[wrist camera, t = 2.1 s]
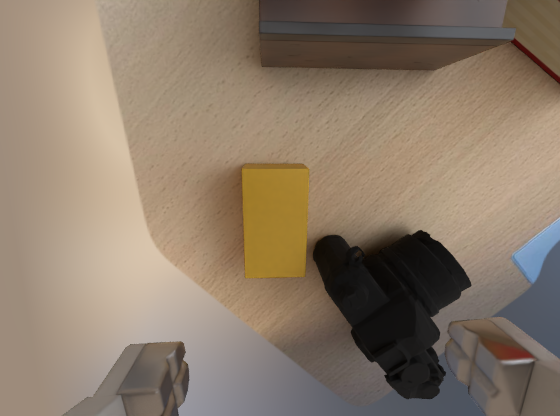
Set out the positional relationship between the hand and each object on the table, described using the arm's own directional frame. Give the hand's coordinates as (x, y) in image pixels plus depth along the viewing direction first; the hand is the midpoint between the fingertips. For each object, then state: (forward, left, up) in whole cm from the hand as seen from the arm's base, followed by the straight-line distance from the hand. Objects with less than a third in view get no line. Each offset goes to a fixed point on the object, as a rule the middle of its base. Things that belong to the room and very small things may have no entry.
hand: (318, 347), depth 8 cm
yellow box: (-1, -1, -16) cm, 16 cm away
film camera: (+10, -7, -16) cm, 20 cm away
